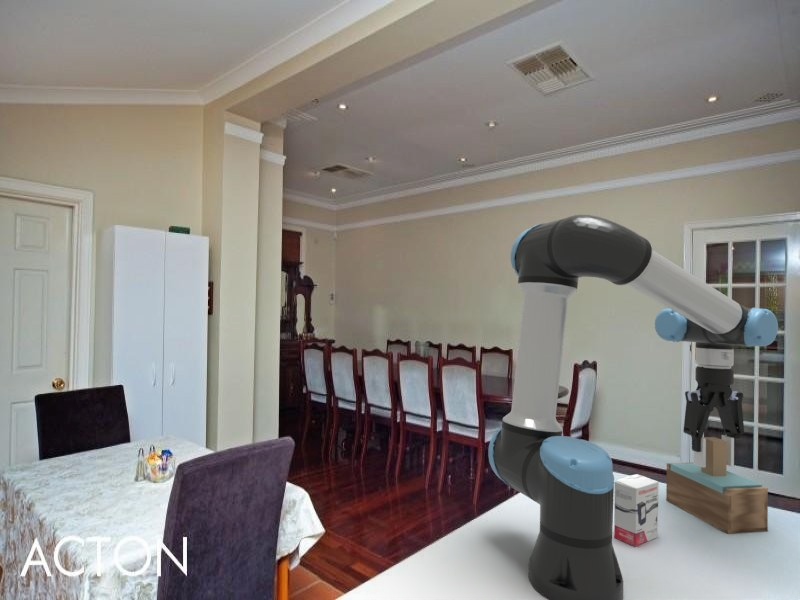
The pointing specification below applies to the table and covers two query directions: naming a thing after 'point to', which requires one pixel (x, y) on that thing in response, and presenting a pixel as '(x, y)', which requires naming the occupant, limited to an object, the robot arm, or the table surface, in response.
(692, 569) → the table surface
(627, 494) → the ink box
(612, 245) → the robot arm
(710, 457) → the lid
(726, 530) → the box
